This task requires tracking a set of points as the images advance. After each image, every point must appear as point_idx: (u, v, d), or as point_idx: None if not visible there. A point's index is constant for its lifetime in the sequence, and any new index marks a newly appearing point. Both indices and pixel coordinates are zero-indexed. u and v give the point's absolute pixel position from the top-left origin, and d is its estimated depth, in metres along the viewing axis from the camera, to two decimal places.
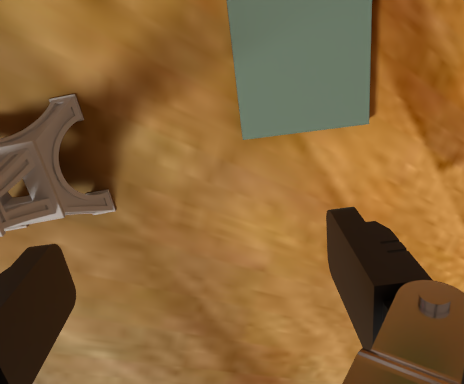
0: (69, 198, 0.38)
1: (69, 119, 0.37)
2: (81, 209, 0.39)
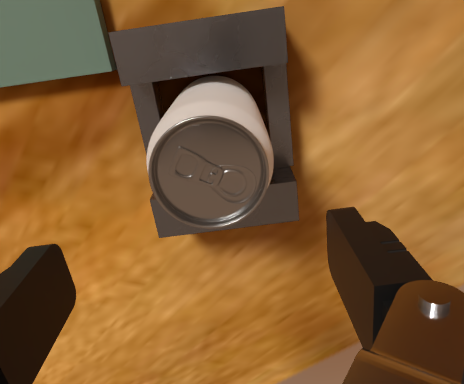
0: None
1: None
2: None
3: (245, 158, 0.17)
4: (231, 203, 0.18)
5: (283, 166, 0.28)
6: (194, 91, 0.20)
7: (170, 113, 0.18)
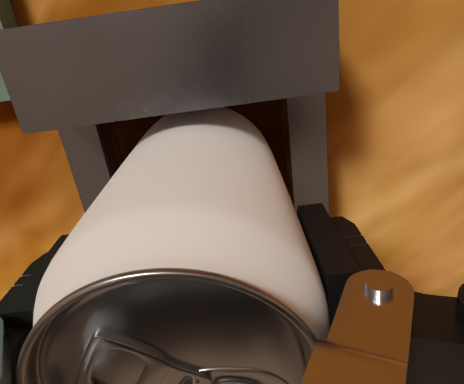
0: None
1: None
2: None
3: (269, 354, 0.07)
4: None
5: None
6: (155, 154, 0.10)
7: (81, 233, 0.07)
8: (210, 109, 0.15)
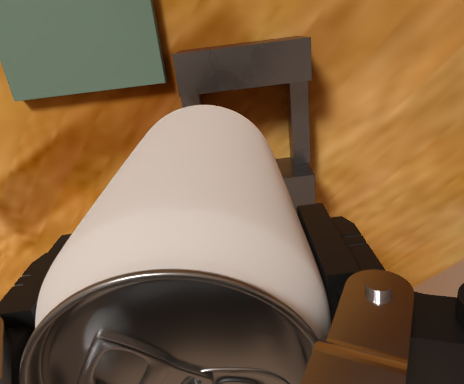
0: None
1: None
2: None
3: (272, 354, 0.07)
4: None
5: (302, 163, 0.34)
6: (157, 154, 0.10)
7: (83, 234, 0.07)
8: (211, 110, 0.15)
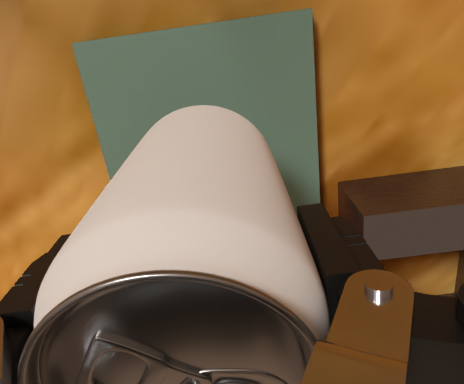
0: None
1: None
2: None
3: (270, 356, 0.07)
4: None
5: None
6: (156, 155, 0.10)
7: (82, 235, 0.07)
8: (210, 110, 0.15)
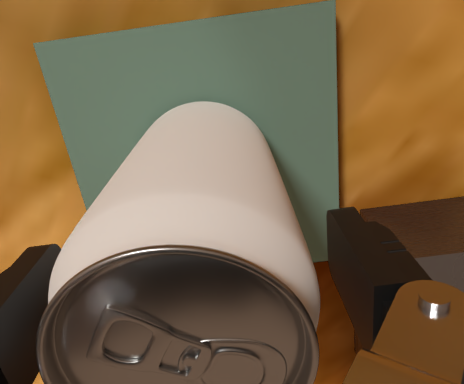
0: None
1: None
2: None
3: (265, 326, 0.07)
4: None
5: None
6: (159, 146, 0.11)
7: (93, 217, 0.08)
8: (210, 106, 0.16)
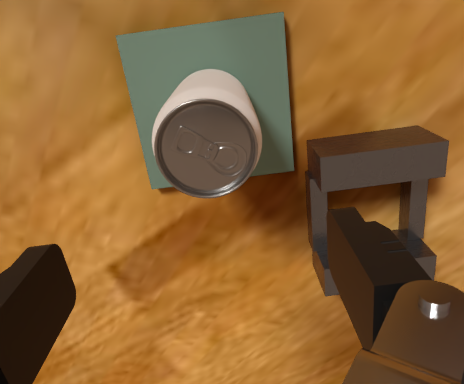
0: None
1: None
2: None
3: (237, 136, 0.20)
4: (225, 176, 0.21)
5: (415, 238, 0.36)
6: (193, 80, 0.23)
7: (173, 97, 0.20)
8: (215, 70, 0.28)
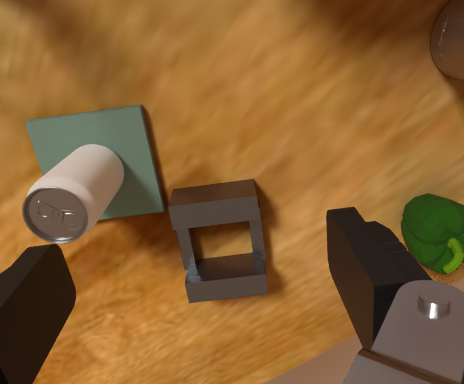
0: None
1: None
2: None
3: (74, 207, 0.33)
4: (71, 230, 0.34)
5: (259, 260, 0.48)
6: (60, 164, 0.36)
7: (36, 182, 0.33)
8: (92, 147, 0.41)
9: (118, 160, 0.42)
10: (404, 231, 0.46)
